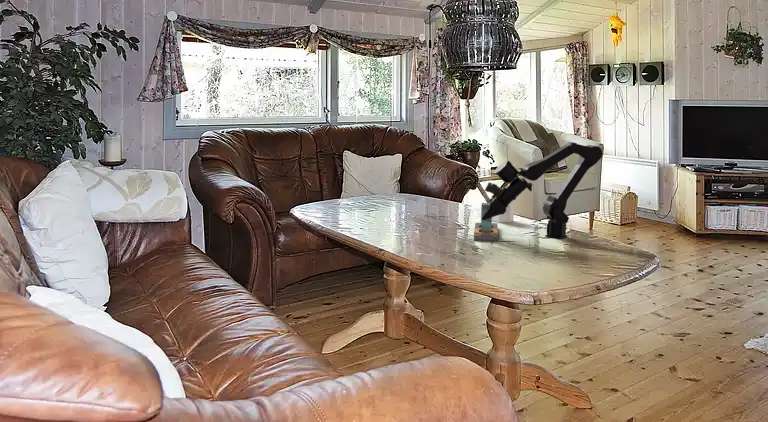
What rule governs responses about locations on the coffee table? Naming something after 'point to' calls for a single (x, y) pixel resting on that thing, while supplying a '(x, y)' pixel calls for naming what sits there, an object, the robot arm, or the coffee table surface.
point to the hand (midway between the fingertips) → (482, 218)
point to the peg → (487, 223)
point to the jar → (506, 214)
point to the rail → (486, 233)
